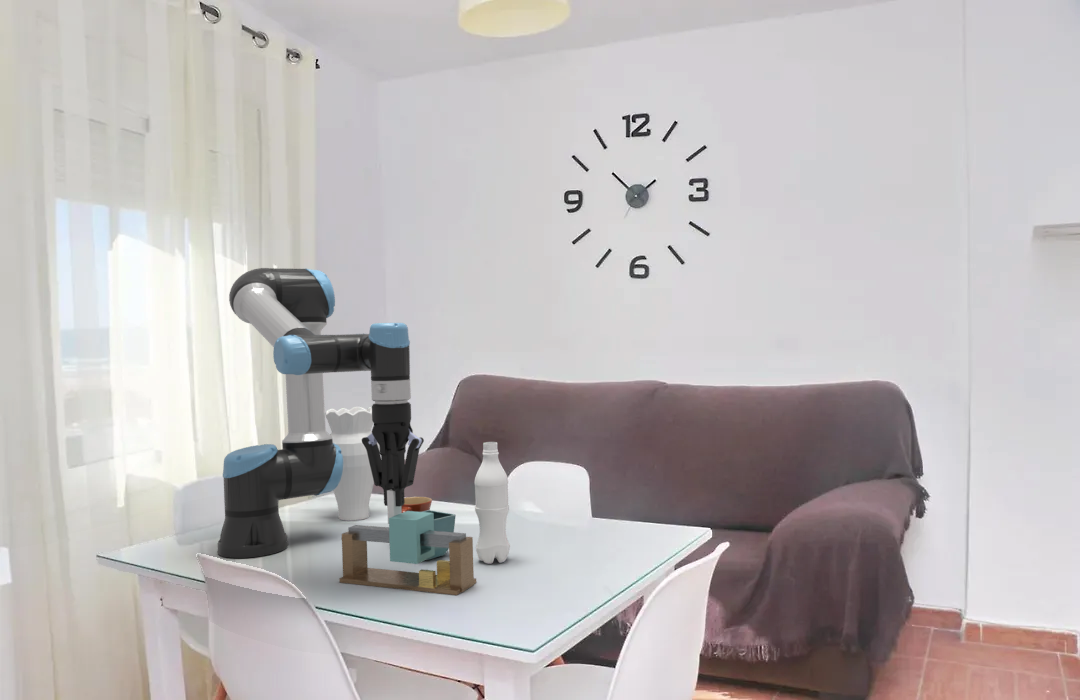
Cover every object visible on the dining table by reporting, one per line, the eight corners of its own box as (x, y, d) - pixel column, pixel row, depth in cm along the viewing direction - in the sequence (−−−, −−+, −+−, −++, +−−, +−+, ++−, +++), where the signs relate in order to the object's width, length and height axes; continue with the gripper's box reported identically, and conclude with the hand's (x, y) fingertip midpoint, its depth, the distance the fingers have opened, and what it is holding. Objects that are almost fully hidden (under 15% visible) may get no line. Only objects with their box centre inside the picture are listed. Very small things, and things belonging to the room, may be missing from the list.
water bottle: (480, 566, 170) (476, 446, 169) (473, 557, 177) (470, 441, 176) (513, 563, 172) (510, 443, 171) (506, 554, 179) (503, 439, 178)
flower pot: (430, 549, 185) (429, 509, 185) (457, 555, 180) (456, 514, 180) (400, 557, 179) (399, 516, 178) (428, 564, 173) (426, 521, 173)
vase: (324, 514, 225) (320, 408, 224) (378, 509, 229) (375, 405, 228) (327, 526, 211) (323, 412, 210) (385, 520, 215) (381, 409, 214)
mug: (403, 539, 194) (401, 496, 194) (438, 540, 193) (437, 496, 193) (383, 553, 183) (382, 507, 183) (420, 554, 181) (419, 507, 181)
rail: (338, 582, 162) (336, 530, 161) (362, 571, 169) (360, 521, 169) (457, 595, 152) (456, 540, 152) (477, 582, 159) (475, 530, 159)
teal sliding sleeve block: (390, 561, 158) (388, 518, 158) (408, 552, 164) (407, 510, 164) (417, 564, 156) (416, 520, 155) (434, 554, 162) (433, 512, 161)
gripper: (351, 403, 160) (355, 524, 160) (409, 403, 155) (413, 529, 155) (373, 400, 166) (377, 516, 167) (430, 400, 162) (433, 520, 162)
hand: (394, 522), depth 161 cm, fingers closed
